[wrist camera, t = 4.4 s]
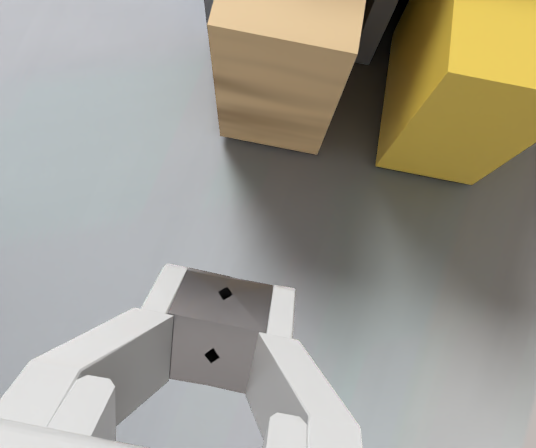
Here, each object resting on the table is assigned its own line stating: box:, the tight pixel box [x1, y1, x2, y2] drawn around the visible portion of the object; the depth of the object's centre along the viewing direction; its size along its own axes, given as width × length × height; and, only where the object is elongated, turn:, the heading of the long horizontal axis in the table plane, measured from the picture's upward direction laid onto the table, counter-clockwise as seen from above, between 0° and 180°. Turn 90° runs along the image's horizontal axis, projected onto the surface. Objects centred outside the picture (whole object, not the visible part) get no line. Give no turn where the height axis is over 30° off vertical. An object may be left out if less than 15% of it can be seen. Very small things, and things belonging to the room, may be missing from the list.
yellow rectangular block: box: [375, 0, 536, 185], centre depth 19 cm, size 8×5×8 cm, turn 169°
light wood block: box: [207, 0, 366, 155], centre depth 19 cm, size 8×5×8 cm, turn 169°
